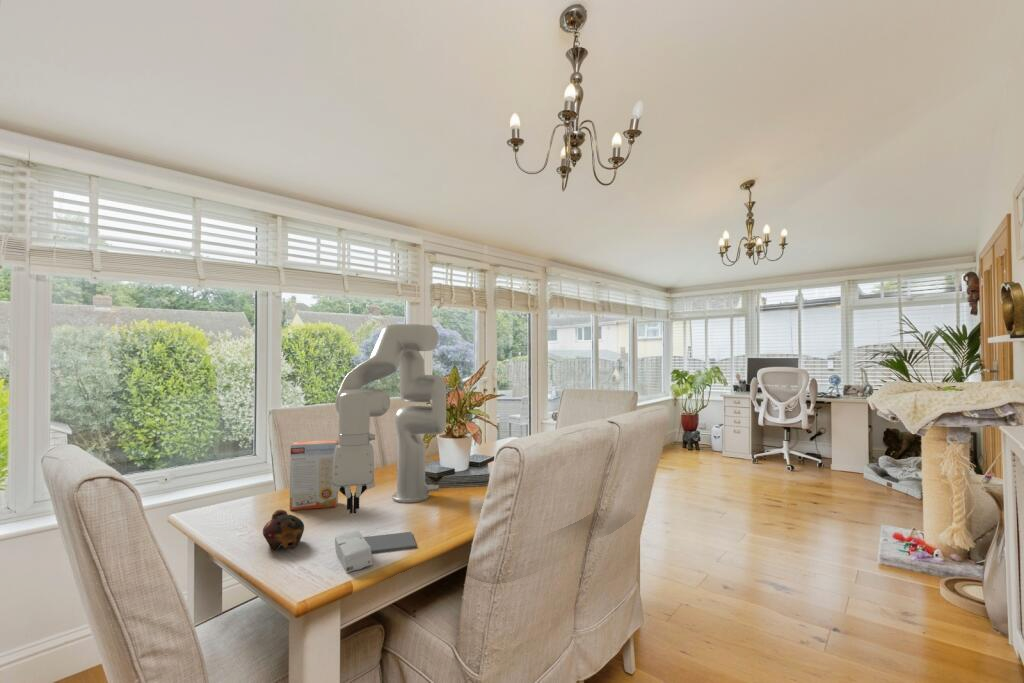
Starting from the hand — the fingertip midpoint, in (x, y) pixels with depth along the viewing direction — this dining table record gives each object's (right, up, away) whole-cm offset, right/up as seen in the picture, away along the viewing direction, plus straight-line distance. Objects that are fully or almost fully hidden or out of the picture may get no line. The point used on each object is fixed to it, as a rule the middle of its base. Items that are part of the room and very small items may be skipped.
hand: (353, 511), depth 121 cm
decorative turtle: (-18, -9, +1) cm, 20 cm away
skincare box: (-1, -6, -3) cm, 7 cm away
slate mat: (+7, -9, +2) cm, 12 cm away
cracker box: (-24, -10, +33) cm, 42 cm away
